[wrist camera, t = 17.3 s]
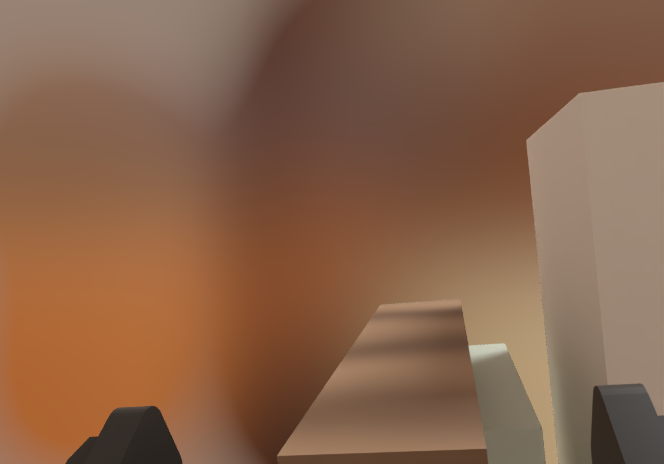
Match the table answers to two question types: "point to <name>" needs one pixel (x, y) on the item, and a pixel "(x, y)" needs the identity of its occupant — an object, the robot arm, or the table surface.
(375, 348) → the slat
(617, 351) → the stand
